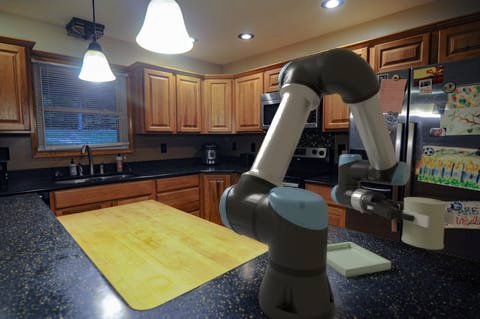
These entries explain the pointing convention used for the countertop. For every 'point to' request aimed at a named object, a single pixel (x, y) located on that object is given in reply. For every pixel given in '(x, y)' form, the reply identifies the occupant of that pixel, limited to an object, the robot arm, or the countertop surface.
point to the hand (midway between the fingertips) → (441, 220)
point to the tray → (354, 260)
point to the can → (423, 235)
